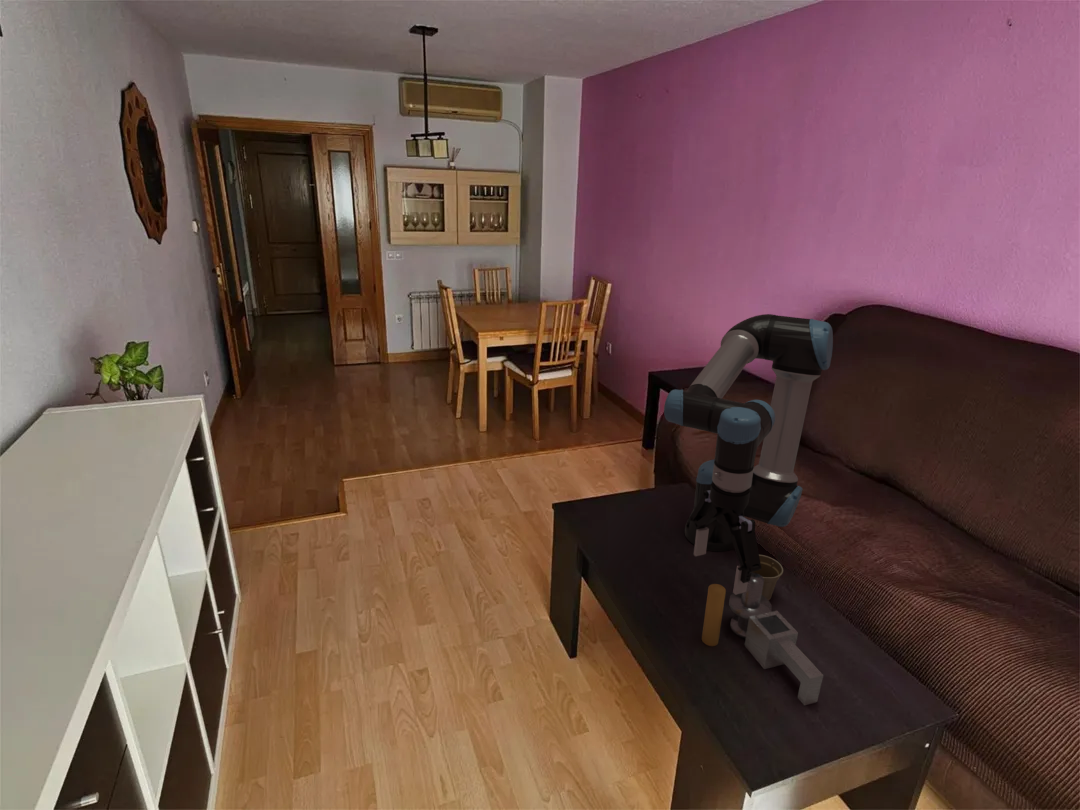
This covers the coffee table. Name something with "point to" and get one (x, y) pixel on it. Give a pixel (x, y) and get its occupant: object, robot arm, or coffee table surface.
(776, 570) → the flower pot
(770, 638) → the rosette bracket
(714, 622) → the tapered pin
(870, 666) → the coffee table surface
